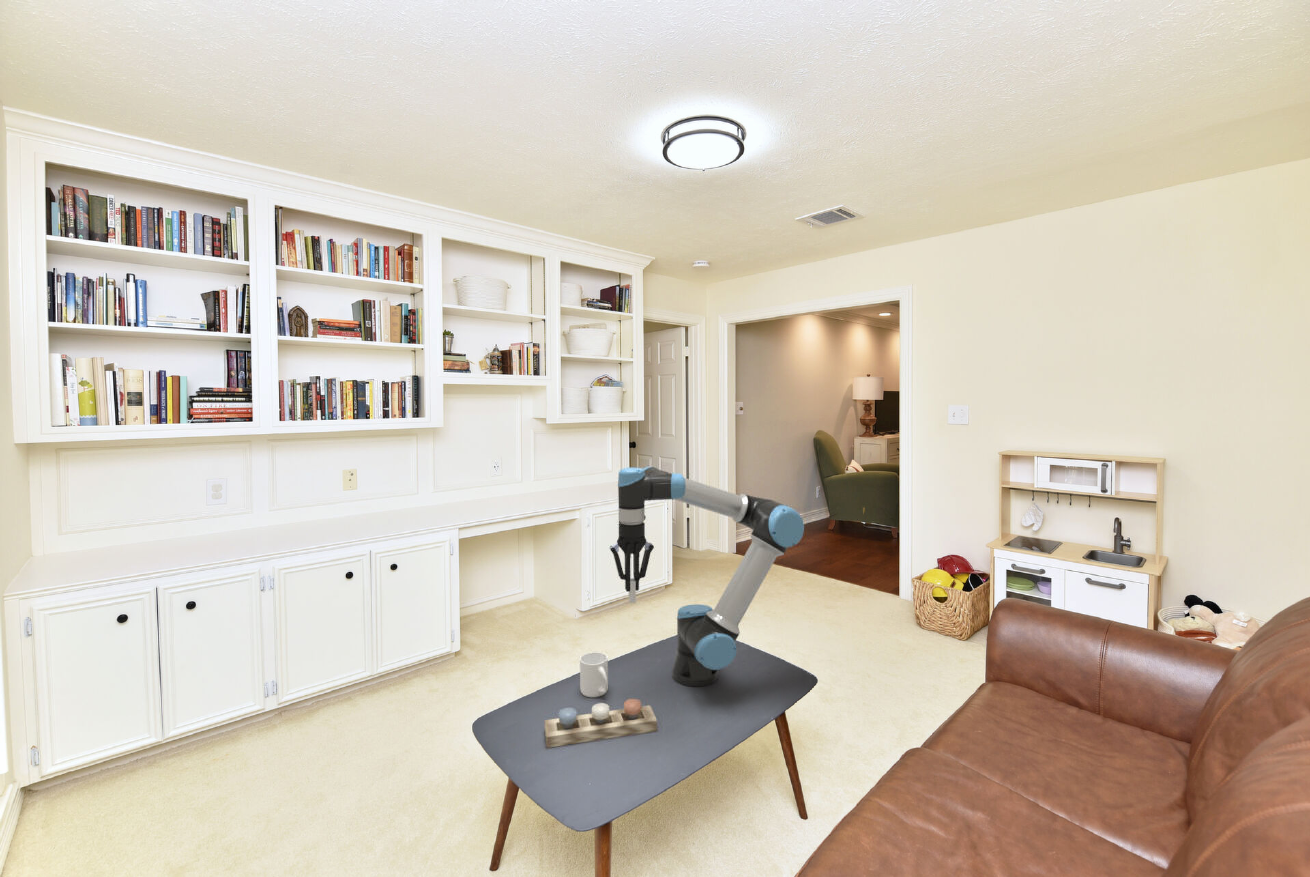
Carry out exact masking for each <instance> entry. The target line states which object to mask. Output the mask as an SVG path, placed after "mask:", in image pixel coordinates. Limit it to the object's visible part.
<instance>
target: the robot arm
mask: <svg viewBox="0 0 1310 877" xmlns="http://www.w3.org/2000/svg"><path fill="white" fill-rule="evenodd" d="M617 488H618V492H617V494H618V497H617V498H618V521H619V523H618V538H617V541H616V543H615V544H613V545H610V546H609V550H610V552H611V553H612V554H613V559H614V562H615V566H616V570H617V573H618V577H619V579H620V580H622V581H623V580H624V588H625V591H626V592H628V601H629V604H636V603H637V602H636V601H637V600H636V598H637V597H636V596H637V593H636V591H637V592H638V591H639V590H640V580H641V579H643V578H645V577H646V574H647V570H648V567H649V566H648V565H649V561H650V557H651V553H652V551H653V550H654V549H655V545H653V544H652V543H651V542H648V541H647V538H646V531H645V530H646V529H645V524H646V523H645V519H646V518H645V514H646V513H645V503H646V502H645V501H649V502H650V501H663V500H665V501H667V500H674V501H678V502H681V503H685V504H688V505H691V506H694V507H698V508H701V509H704V510H707V511H710V512H713V513H716V514H719V515H723V516H724V517H725V516H726V517H728V518H731V519H732V520H733V522H734V523H737V524H741V525H743V526H745V527H747V528H749V529H751V530H752V531H751V533H750V538H751V543H750V545H749V547H748V549H747V550H746V552H745V554H744V556H743V558H742V559H741V561H740V563H739V565H738V566H737V567H736V570H735V571H734V574H733V575H732V577H731V578H730V580H729V583H727V585H726V587H725V590H724V591H723V593H722V595H721V596H720V598H719V600H718V602H717V604H716V605H715V607H714V609H713V607H711V606H709V605H707V604H697V603H695V604H687V605H683V606H681V607H679V609H678V610H677V615H676V616H677V617H676V620H677V621H676V622H677V624H676V626H677V628H676V632H677V634H676V635H677V636H676V638H677V640H676V642H677V645H676V646H677V647H676V648H677V651H676V652H677V653H676V655H675V658H674V661H673V664H672V667H671V676H672V678H673V680H674V681H676V682H677V683H679V684H681V685H685V686H688V687H704V686H705V687H706V686H709V685H711V684H713V683H715V682H716V681H717V680H718V678H719V671H720V669H724V668H726V667H727V666H729V665H730V664H731V663H732V662H733V661H734V660H735V657H736V655H737V644H736V641H737V639H738V638H739V635H740V628H739V624H740V623H741V621H742V620H743V618H744V616H745V614H746V613H747V610H748V609H749V607H750V605H751V603H752V602H753V600H754V598H755V596H756V594H757V593H758V591H759V590H760V587H761V586H762V584H763V582H764V580H765V579H766V576H767V575H768V573H769V571H770V570H771V568H772V565H773V564H774V563H775V561H776V559H777V558H778V557H781V556H783V555H785V553H786V552H787V550H788V548H791V547H793V546H796V545H797V544H799V542H800V541H801V540H802V538H803V536H804V531H805V523H804V520H803V518H802V516H801V514H800V513H799V512H798V511H797V510H795V509H794V508H792V507H791V506H789V505H788V504H787V505H786V504H783V503H780V502H778V501H774V500H772V499H768V498H764V497H763V498H761V497H757V496H754V495H749V494H745V493H740V494H739V495H738V494H735V493H732V492H729V491H727V490H723V489H720V488H717V487H714V486H711V485H707V484H705V483H701V482H698V481H695V480H692V479H689V478H686V477H684V475H683V474H682V473H679V472H678V473H674V472H672V473H670V472H668V471H664V470H661V469H658V468H656V467H653V466H646V467H644V468H642V467H624V468H621V469H620V470H619V471H618V480H617ZM643 548H644V552H643V555H642V561H641V564H640V555H641V554H640V552H641V551H642V550H643ZM620 550H621V551H622V552H623V553H624V554H623V556H624V571H623V566H622V563H621V558H620V554H619V552H620ZM631 555H633V557H632V556H631ZM631 558H632V559H633V560H632V561H633V563H632V565H633V568H632V570H633V572H632V573H633V574H631ZM631 575H632V576H633V578H632V577H631Z"/></svg>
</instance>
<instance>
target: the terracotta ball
mask: <svg viewBox="0 0 1310 877" xmlns="http://www.w3.org/2000/svg"><path fill="white" fill-rule="evenodd" d="M641 706H642V702H641V700H640V699H637V698H628V699H626V700H625V701H624V703H623V709H624V712H625V713H626V714H628V720H635V719H638V714H639V713H640V712H641Z"/></svg>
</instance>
